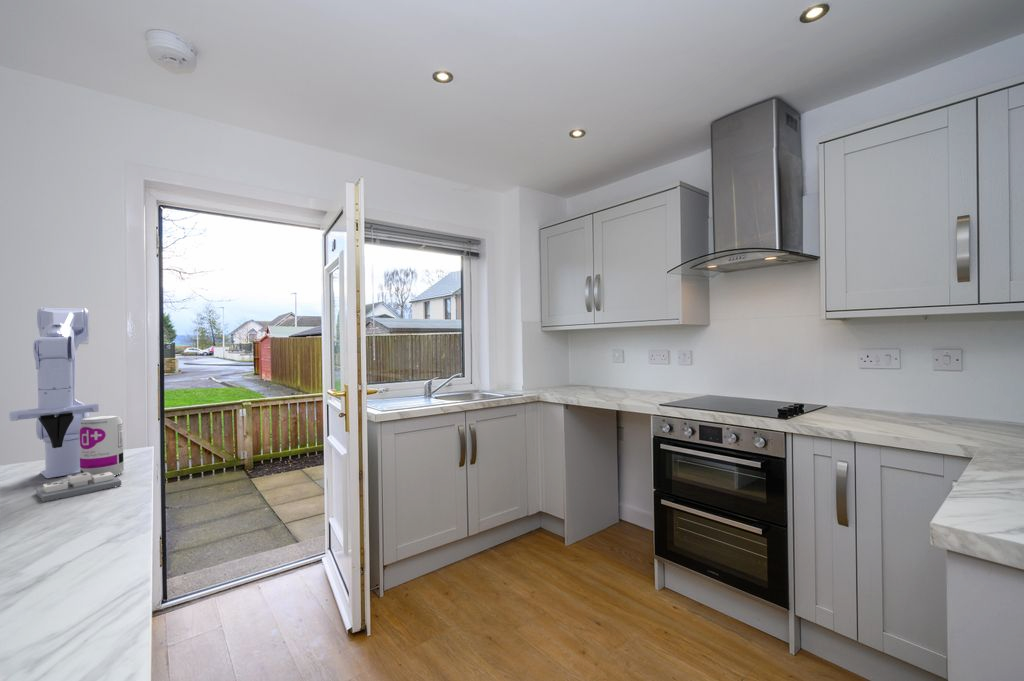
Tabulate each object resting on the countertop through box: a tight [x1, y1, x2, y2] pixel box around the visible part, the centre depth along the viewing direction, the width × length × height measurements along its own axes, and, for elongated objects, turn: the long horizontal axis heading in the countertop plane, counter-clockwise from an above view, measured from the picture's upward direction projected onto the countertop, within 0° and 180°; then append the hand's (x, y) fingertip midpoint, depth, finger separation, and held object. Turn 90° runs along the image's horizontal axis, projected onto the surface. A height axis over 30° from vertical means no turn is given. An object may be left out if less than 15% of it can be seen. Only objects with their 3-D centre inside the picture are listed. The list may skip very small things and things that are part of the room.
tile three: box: [42, 480, 68, 493], centre depth 103 cm, size 4×4×2 cm
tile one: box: [91, 472, 114, 483], centre depth 109 cm, size 4×4×2 cm
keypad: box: [35, 476, 122, 503], centre depth 106 cm, size 9×13×1 cm
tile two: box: [66, 472, 91, 487], centre depth 106 cm, size 4×4×2 cm
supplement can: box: [79, 414, 125, 476], centre depth 117 cm, size 8×8×15 cm
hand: (57, 447), depth 106 cm, fingers closed
